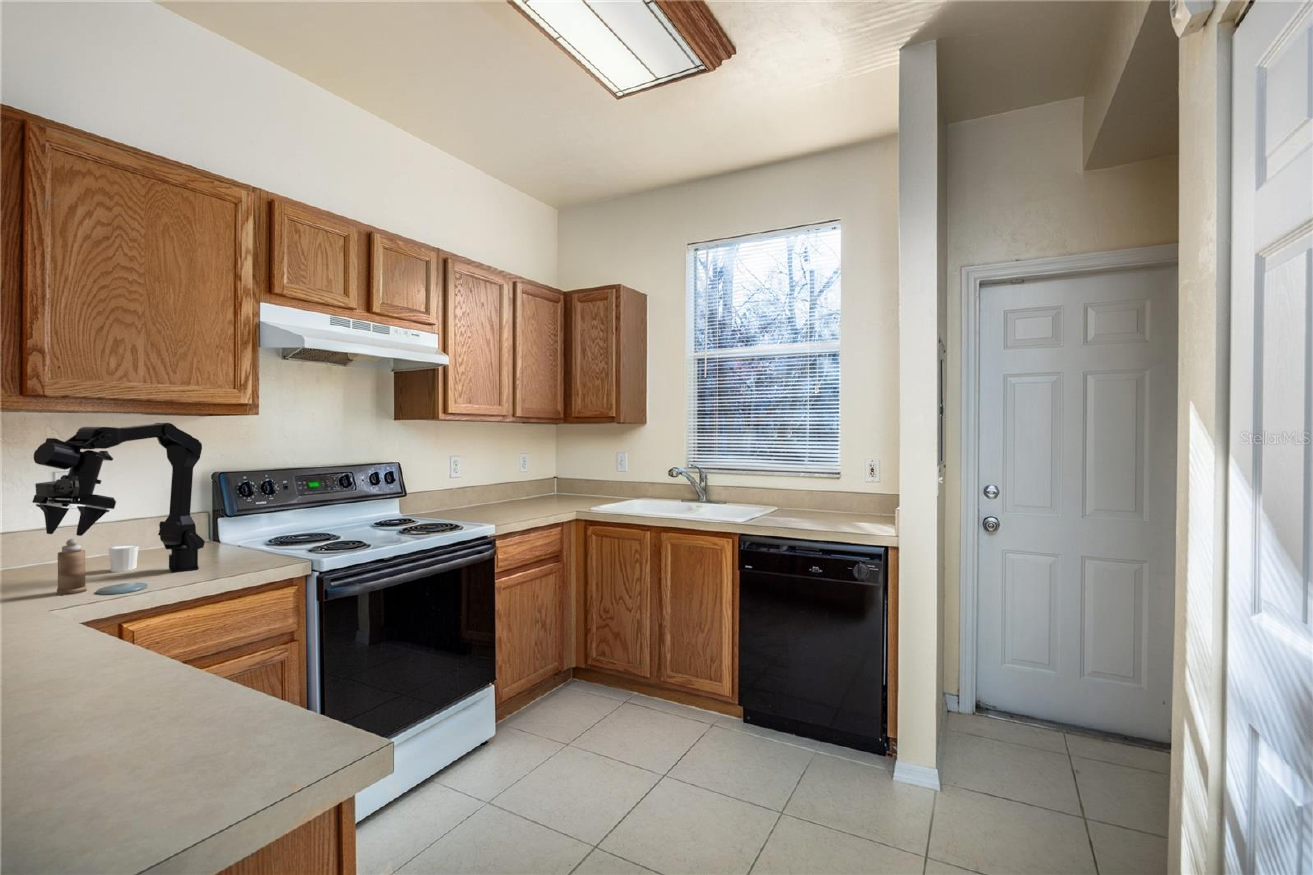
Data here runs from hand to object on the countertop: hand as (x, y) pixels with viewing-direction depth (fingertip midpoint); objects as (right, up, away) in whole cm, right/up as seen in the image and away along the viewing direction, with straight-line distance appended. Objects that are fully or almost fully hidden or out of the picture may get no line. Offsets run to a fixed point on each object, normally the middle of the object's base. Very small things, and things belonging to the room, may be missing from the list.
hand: (64, 534), depth 154 cm
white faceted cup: (-11, -16, +31) cm, 36 cm away
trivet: (+7, -16, +8) cm, 19 cm away
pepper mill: (-4, -16, +6) cm, 17 cm away
